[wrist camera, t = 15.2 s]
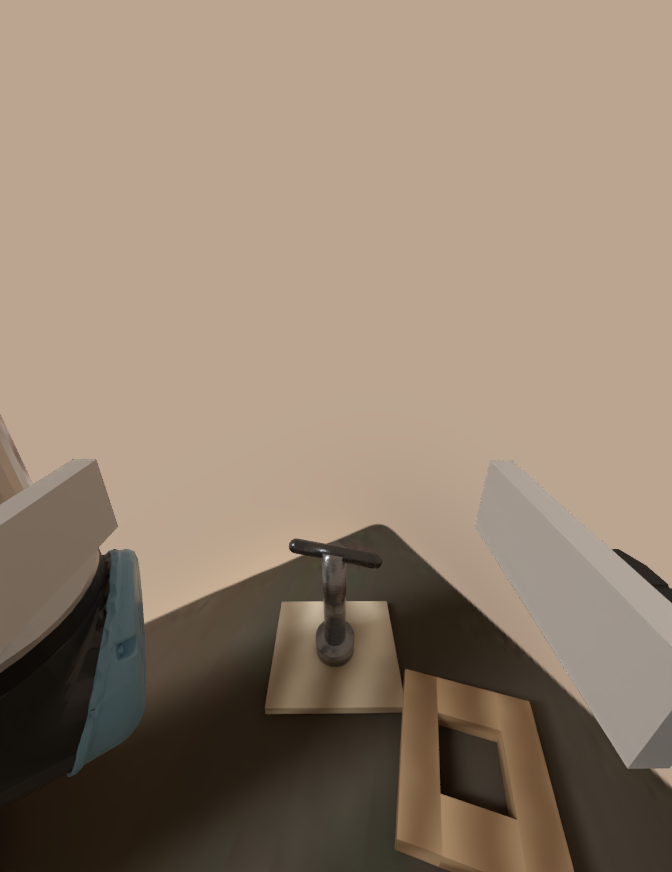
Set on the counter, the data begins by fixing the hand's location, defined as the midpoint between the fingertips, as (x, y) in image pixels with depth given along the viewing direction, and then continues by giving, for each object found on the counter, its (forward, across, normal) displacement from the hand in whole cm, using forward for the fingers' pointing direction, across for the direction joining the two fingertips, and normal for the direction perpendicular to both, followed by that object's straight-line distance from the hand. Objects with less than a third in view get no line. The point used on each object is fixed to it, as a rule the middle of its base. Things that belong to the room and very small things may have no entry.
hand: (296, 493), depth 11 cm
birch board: (+15, +2, -32) cm, 35 cm away
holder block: (+4, +14, -32) cm, 35 cm away
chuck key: (+15, +2, -31) cm, 34 cm away
